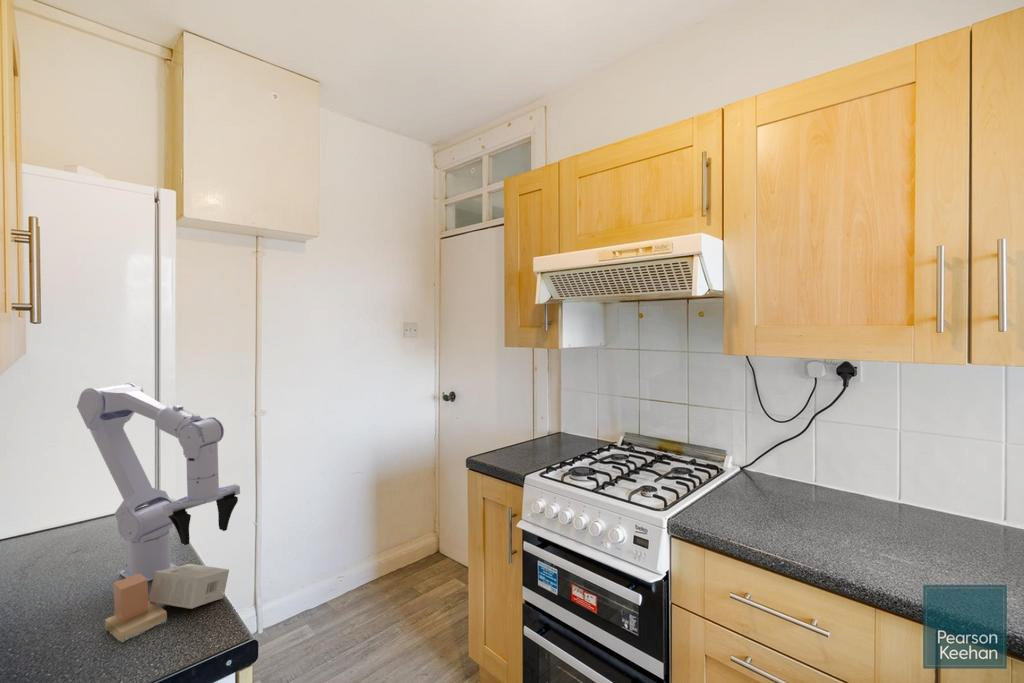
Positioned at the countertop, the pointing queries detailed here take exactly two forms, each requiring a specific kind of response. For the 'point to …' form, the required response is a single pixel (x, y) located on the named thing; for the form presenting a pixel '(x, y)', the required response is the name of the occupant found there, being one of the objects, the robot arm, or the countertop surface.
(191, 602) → the small box
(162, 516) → the robot arm
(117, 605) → the block
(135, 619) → the base slab
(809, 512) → the countertop surface
